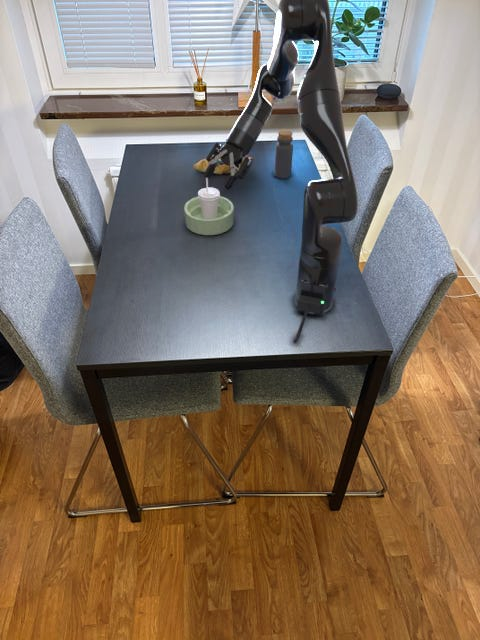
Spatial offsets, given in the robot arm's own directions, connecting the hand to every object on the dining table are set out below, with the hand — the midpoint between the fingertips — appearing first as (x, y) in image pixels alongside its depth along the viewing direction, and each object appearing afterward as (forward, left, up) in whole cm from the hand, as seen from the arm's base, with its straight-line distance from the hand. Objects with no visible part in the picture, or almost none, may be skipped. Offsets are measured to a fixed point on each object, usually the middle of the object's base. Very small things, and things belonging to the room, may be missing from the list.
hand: (215, 183), depth 147 cm
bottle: (+34, -13, -12) cm, 39 cm away
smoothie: (-2, +1, -12) cm, 12 cm away
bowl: (-3, +1, -12) cm, 13 cm away
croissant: (+32, +8, -12) cm, 36 cm away
